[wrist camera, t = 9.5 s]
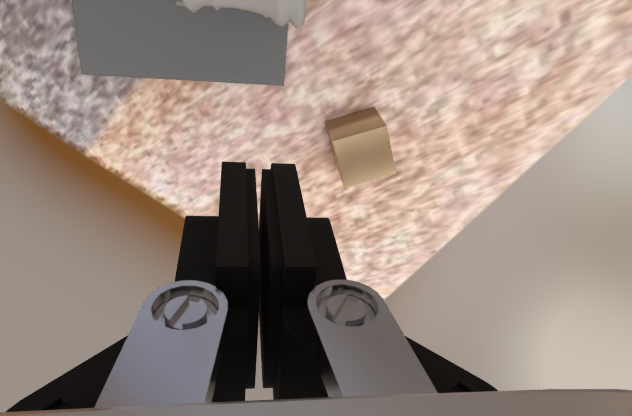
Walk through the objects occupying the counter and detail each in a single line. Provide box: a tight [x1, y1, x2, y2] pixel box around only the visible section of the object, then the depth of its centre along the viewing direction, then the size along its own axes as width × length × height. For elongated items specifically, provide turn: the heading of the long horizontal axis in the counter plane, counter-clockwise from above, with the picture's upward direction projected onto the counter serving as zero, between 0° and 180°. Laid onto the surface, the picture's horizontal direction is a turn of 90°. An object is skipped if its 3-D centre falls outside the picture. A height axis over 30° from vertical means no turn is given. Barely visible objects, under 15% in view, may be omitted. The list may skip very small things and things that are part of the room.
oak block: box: [325, 107, 396, 188], centre depth 40 cm, size 4×4×4 cm
